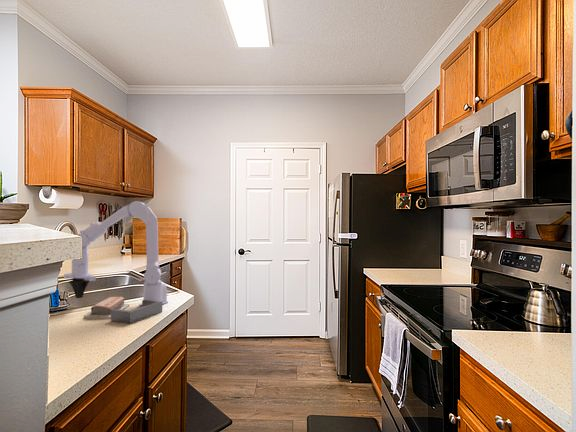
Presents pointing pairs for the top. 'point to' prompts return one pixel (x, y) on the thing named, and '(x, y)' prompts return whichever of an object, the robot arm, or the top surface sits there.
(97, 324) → the top surface
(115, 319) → the dark grey slab
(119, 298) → the packaged product
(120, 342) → the top surface
